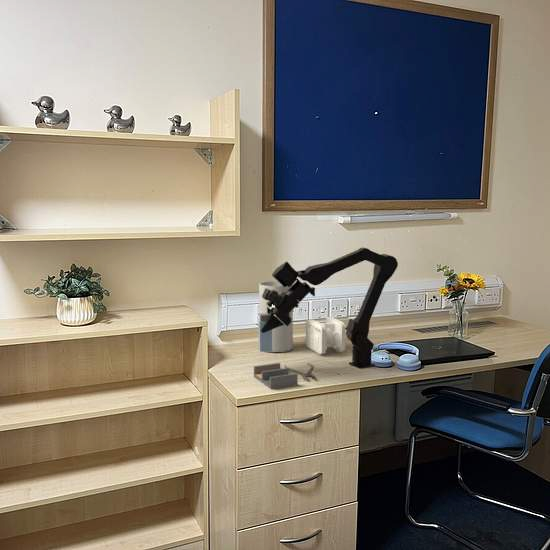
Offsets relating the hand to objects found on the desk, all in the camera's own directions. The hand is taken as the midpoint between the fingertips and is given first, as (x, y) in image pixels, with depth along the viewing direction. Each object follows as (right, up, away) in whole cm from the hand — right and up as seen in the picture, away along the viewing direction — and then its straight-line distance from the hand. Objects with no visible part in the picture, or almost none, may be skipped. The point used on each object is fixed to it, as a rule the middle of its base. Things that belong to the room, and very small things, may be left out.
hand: (261, 330), depth 204 cm
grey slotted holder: (+5, -15, -10) cm, 18 cm away
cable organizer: (+23, -10, +26) cm, 36 cm away
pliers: (+15, -14, 0) cm, 21 cm away
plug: (+1, -6, +1) cm, 7 cm away
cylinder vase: (+5, -10, +29) cm, 31 cm away
